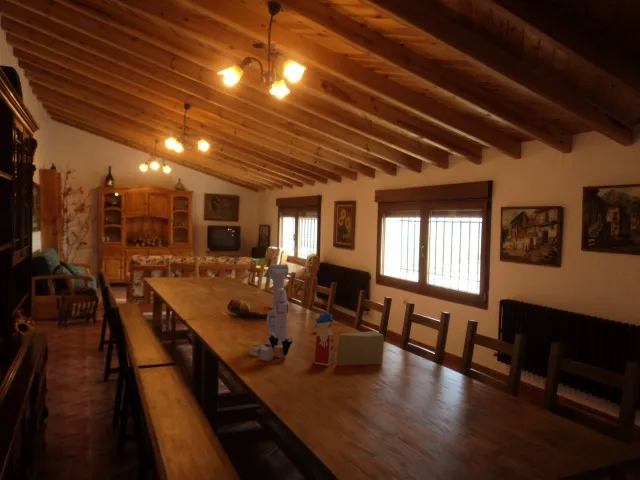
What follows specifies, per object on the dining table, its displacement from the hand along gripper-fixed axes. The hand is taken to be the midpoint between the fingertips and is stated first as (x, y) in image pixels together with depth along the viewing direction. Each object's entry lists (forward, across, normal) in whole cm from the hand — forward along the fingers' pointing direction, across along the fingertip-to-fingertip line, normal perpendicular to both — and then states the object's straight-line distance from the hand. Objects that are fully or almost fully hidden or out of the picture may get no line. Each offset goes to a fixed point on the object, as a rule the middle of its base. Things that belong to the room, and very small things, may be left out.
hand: (279, 353), depth 241 cm
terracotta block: (+2, 0, 0) cm, 2 cm away
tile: (+1, -11, +3) cm, 11 cm away
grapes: (+2, -20, +56) cm, 59 cm away
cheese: (+2, +34, +20) cm, 39 cm away
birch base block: (+2, -10, -6) cm, 12 cm away
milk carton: (+2, +21, +9) cm, 23 cm away
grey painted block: (+2, -1, -8) cm, 8 cm away
